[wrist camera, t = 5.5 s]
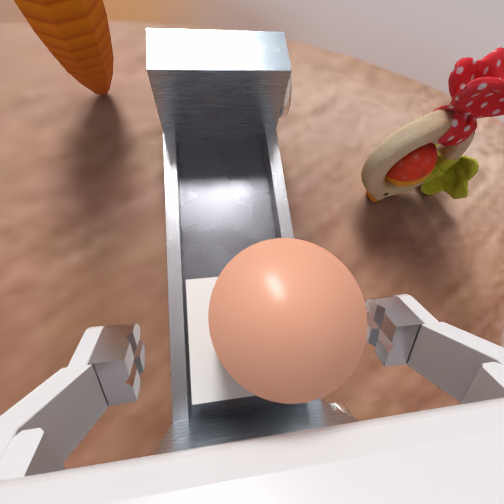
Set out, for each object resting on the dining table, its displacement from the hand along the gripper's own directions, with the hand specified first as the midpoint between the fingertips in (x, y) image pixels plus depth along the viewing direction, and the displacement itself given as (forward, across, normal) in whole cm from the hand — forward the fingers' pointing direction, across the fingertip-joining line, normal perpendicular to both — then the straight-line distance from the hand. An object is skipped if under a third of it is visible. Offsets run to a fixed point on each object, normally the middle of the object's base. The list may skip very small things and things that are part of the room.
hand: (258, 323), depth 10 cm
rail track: (+10, 0, +3) cm, 11 cm away
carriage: (+5, 0, +6) cm, 8 cm away
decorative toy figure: (+14, -14, 0) cm, 20 cm away
